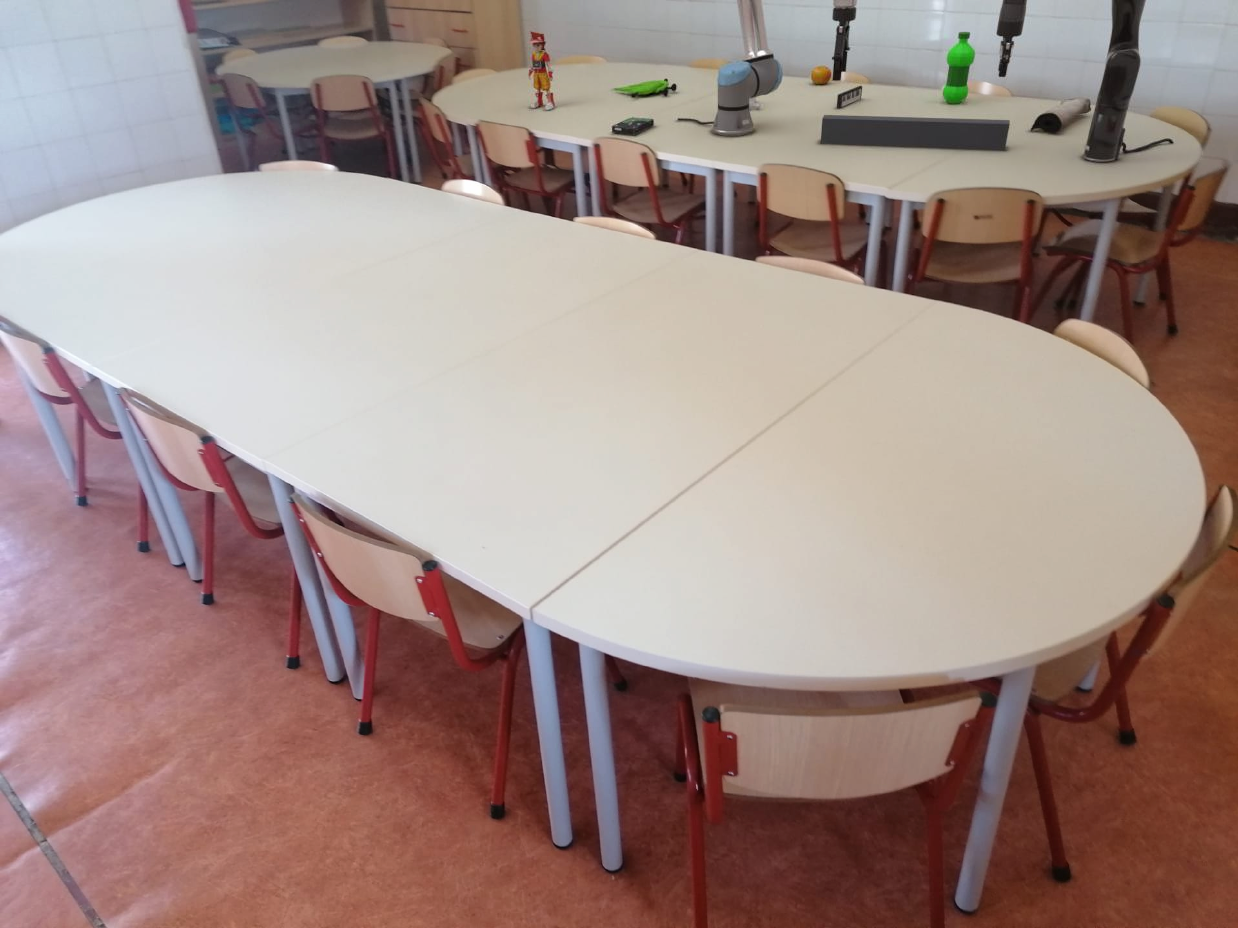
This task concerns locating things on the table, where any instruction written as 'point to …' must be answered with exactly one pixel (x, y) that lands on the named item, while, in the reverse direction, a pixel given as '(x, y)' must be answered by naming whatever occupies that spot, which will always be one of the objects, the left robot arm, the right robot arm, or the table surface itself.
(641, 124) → the disk drive
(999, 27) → the right robot arm
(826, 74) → the fruit
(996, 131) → the beam
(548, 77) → the toy
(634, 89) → the toy
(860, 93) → the midi keyboard
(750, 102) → the anatomical model
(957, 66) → the plastic bottle
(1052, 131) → the rolled mat
